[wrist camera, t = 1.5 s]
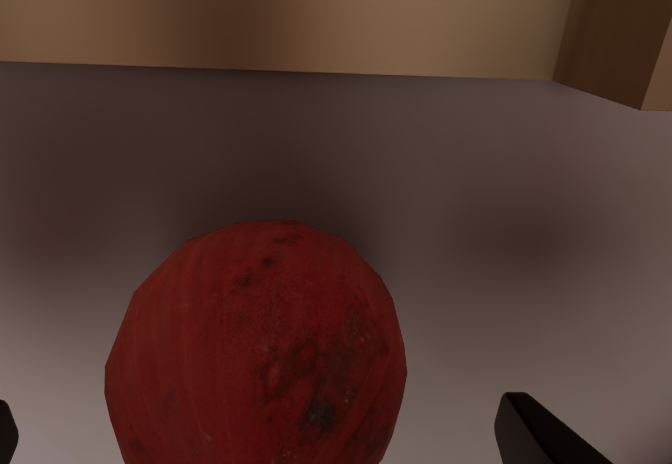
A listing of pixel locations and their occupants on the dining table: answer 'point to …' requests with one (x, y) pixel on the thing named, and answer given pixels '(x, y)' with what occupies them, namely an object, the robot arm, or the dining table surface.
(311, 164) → the dining table surface
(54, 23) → the shallow wooden tray
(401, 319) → the dining table surface
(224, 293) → the pomegranate
